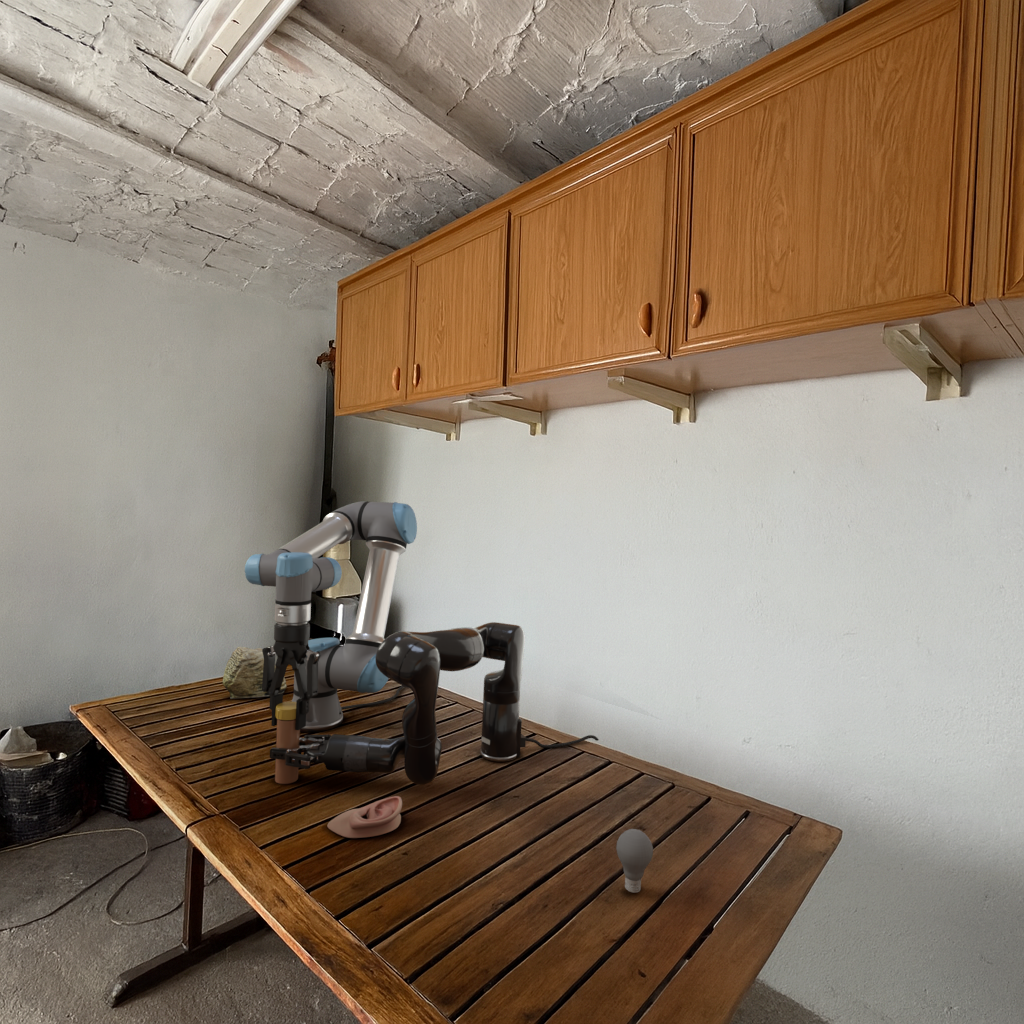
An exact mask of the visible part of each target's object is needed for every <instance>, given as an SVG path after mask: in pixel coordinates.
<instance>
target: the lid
mask: <svg viewBox="0 0 1024 1024" xmlns="http://www.w3.org/2000/svg"><path fill="white" fill-rule="evenodd" d="M275 716H276V718H277V719H280V720H294V719H296V702H292V701H283V703H280V704H278V705H277V706H276V711H275Z"/></svg>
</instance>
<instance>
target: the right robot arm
mask: <svg viewBox="0 0 1024 1024" xmlns="http://www.w3.org/2000/svg"><path fill="white" fill-rule="evenodd" d="M384 639H385V640H384V641H383V642H382V643H381V644H380V646H379V647H378V650H377V652H376V656H375V661H376V665H377V668H378V669H379V671H380V672H381V673H382V674H384V675H385V676H386V677H388V678H389V679H390V680H391V681H394V682H395V683H397V684H399V685H400V686H402V685H403V686H404V687H403V688H406V689H410V690H411V691H412V694H413V696H414V697H413V699H411V701H410V702H409V703H408V704H407V705H406V707H405V708H404V710H403V713H402V717H401V727H402V733H403V736H399V737H393V738H377V737H369V736H366V735H365V736H364V735H354V734H337V733H335V734H330V733H329V734H305V735H304V736H303V737H300V743H299V747H298V748H293V749H287V748H276V747H271V748H270V749H269V759H271V760H276V759H282V760H286V762H285V765H287V766H292V767H297V768H299V769H303V770H310V769H311V764H320V763H323V764H324V766H325V767H324V768H325V769H326V770H328V771H333V772H335V771H336V772H347V773H348V772H349V773H381V774H390V773H393V772H394V771H395V769H396V768H397V766H398V764H399V763H400V761H402V759H404V760H403V761H404V762H403V763H404V764H403V765H404V767H403V768H404V772H405V775H406V777H407V778H408V780H409V781H410V782H412V784H415V785H418V786H425V785H428V784H430V783H432V782H433V781H434V780H435V778H436V777H437V775H438V771H439V768H440V767H439V766H440V761H441V755H442V751H443V743H442V741H441V739H440V738H438V727H437V725H438V724H437V715H436V707H437V698H438V691H439V685H440V684H439V683H440V674H441V671H443V672H461V671H464V670H467V669H471V668H474V667H475V666H476V665H478V664H479V663H480V661H481V660H482V658H484V659H488V660H489V659H490V660H495V661H501V662H504V664H503V668H502V669H499V670H494V671H491V672H488V673H486V674H485V675H484V678H483V694H482V695H483V696H482V717H481V718H482V719H481V738H480V739H481V740H480V742H481V743H480V756H481V758H483V759H484V760H486V761H491V762H496V763H505V762H506V763H507V762H511V761H514V760H515V759H518V758H521V751H522V750H521V749H522V748H526V742H531V743H533V744H536V745H537V746H538V747H540V748H542V749H555V748H561V747H567V746H572V745H575V744H579V743H581V742H583V741H586V740H588V739H593V740H595V741H599V740H600V739H599V738H598V737H597V736H595V735H593V734H588V735H585V736H583V737H581V738H578V739H576V740H575V739H574V740H571V741H567V742H561V743H555V744H543V743H541V742H540V741H538V740H536V739H534V738H532V737H531V738H530V737H526V736H525V735H524V734H523V733H522V726H523V725H522V724H523V723H522V722H523V720H522V719H521V717H520V704H521V703H520V702H521V701H520V699H521V683H522V682H521V681H522V677H523V668H524V656H525V647H526V636H525V631H524V629H523V627H522V626H520V625H518V624H514V623H513V624H512V623H505V622H494V621H492V622H485V623H484V624H481V625H478V626H475V627H472V626H471V627H470V626H469V627H467V626H466V627H455V628H448V629H441V630H432V631H409V630H399V631H396V632H394V633H392V634H390V635H388V636H387V637H385V638H384ZM296 752H297V753H298V754H297V753H296ZM302 752H303V753H302Z"/></svg>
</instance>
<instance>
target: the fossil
mask: <svg viewBox="0 0 1024 1024" xmlns="http://www.w3.org/2000/svg"><path fill="white" fill-rule="evenodd" d="M262 649H263V648H260V647H258V648H251V647H247V646H246V647H245V646H238V647H237V648H236V649H235V650H233V651H232V653H231V656H230V657H229V659H228V660H227V663H226V666H225V668H224V671H223V675H222V676H223V677H222V685H223V687H224V688H225V690H226V691H228V693H229V698H230V699H250V698H264V697H270V695H269V693H267V692H263V691H262V680H263V665H264V657H263V652H262ZM275 669H276V666H275ZM274 672H275V670H274ZM287 687H288V686H287V680H286V678H285V676H284V679H283V682H282V686H281V689H280V690H282V691H281V692H279V693H278V694H280V693H281V694H284V693H285V691H286V689H287Z"/></svg>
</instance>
